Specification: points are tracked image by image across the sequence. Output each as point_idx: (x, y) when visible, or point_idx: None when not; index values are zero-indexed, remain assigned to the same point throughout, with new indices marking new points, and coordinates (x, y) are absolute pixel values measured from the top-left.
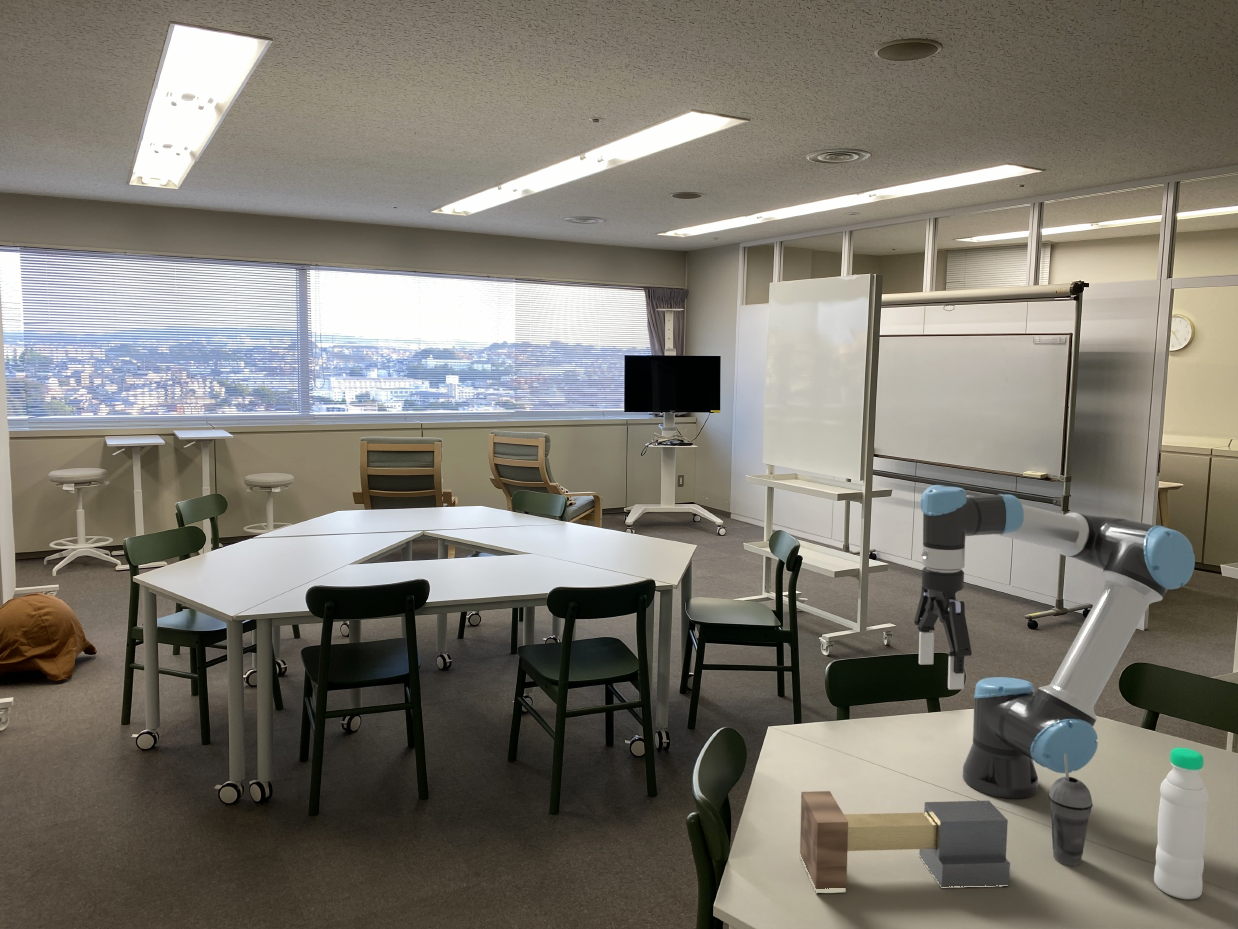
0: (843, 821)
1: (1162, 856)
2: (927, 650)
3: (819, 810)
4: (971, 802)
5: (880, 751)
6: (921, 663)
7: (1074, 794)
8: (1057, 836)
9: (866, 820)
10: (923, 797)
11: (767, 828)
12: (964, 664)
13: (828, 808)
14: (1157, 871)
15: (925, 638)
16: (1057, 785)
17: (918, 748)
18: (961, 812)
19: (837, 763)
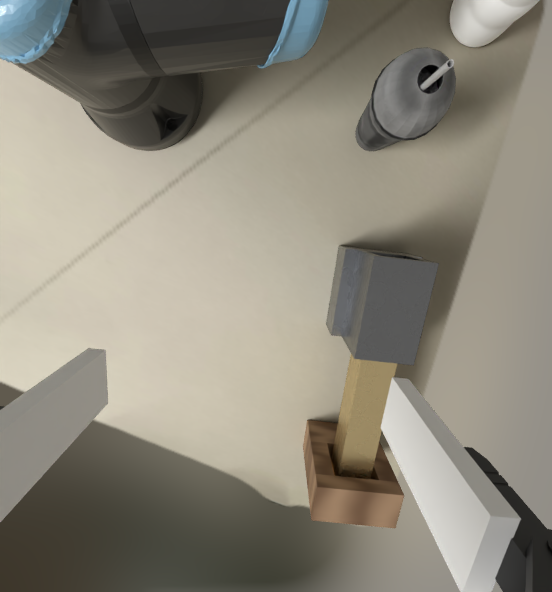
0: (400, 500)
1: (512, 15)
2: (62, 416)
3: (366, 516)
4: (372, 288)
5: (25, 235)
6: (105, 401)
7: (450, 102)
8: (389, 145)
9: (362, 441)
10: (182, 243)
11: (237, 458)
12: (472, 459)
13: (363, 505)
14: (480, 33)
15: (3, 487)
16: (417, 118)
17: (10, 162)
18: (397, 321)
19: (70, 319)
